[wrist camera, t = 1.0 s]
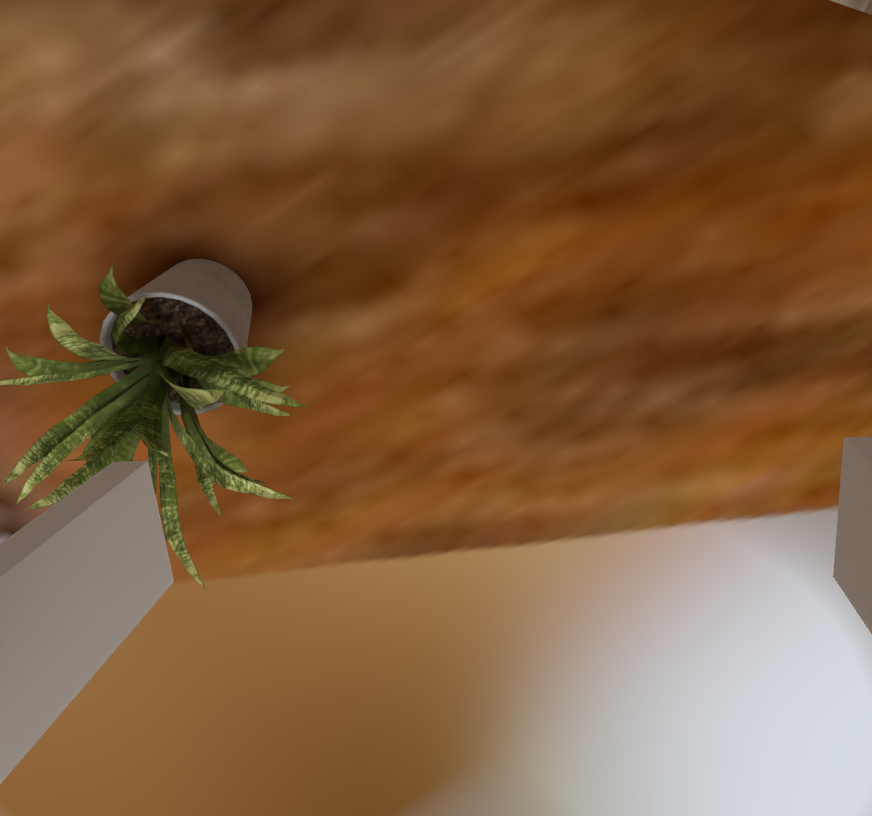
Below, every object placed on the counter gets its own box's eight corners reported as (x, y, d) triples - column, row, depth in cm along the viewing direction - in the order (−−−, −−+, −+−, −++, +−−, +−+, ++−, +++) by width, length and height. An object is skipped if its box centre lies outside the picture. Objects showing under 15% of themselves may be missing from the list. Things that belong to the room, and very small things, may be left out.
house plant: (261, 458, 50) (183, 672, 37) (51, 353, 47) (-123, 548, 33) (374, 289, 43) (328, 477, 30) (137, 149, 40) (-39, 291, 26)
